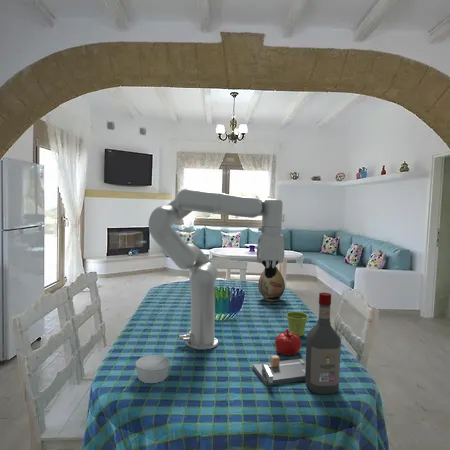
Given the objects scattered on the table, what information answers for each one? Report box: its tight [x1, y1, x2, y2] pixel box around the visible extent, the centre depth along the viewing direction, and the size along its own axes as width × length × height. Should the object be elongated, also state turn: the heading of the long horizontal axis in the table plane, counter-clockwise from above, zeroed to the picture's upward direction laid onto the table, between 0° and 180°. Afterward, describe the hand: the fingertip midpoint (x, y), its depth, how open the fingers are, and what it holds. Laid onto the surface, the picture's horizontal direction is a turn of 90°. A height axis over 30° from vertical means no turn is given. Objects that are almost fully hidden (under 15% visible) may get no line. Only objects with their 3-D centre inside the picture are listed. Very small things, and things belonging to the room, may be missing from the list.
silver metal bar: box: [262, 362, 273, 383], centre depth 121 cm, size 9×2×2 cm, turn 6°
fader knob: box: [270, 354, 280, 367], centre depth 129 cm, size 2×2×3 cm
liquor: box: [304, 292, 342, 395], centre depth 117 cm, size 9×9×30 cm
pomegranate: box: [274, 328, 302, 356], centre depth 144 cm, size 10×10×9 cm
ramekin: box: [135, 354, 171, 384], centre depth 123 cm, size 11×11×5 cm
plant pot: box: [285, 311, 309, 338], centre depth 163 cm, size 9×9×9 cm
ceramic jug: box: [257, 261, 286, 302], centre depth 216 cm, size 17×15×30 cm
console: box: [252, 357, 306, 387], centre depth 127 cm, size 20×12×2 cm, turn 107°
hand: (268, 277), depth 146 cm, fingers closed
